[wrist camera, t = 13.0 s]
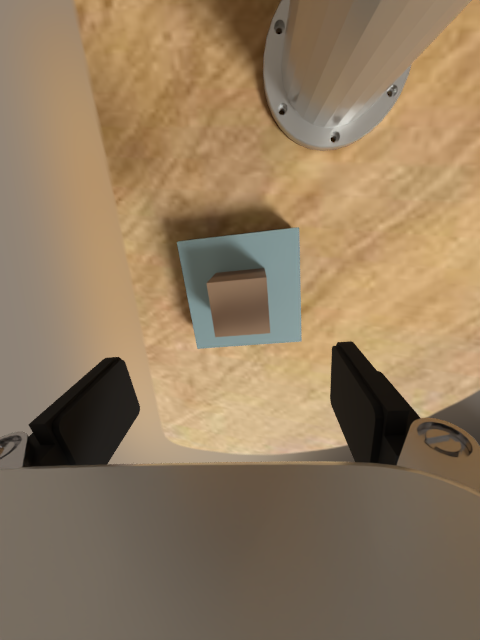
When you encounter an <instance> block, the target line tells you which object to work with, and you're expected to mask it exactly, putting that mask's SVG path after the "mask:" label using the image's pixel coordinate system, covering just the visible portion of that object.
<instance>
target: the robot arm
mask: <svg viewBox="0 0 480 640" xmlns="http://www.w3.org/2000/svg"><path fill="white" fill-rule="evenodd" d="M471 1H472V0H281V1H280V4H279V6H278V8H277V10H276V12H275V14H274V16H273V18H272V22H271V25H270V28H269V31H268V35H267V38H266V45H265V51H264V61H263V79H264V90H265V95H266V99H267V103H268V106H269V109H270V111H271V114H272V116H273V118H274V120H275V121H276V123H277V124H278V126H279V128H280V129H281V130H282V131H283V132H284V133H285V134H286V135H287V136H288V137H289V138H290V139H291V140H293V141H294V142H296V143H297V144H299V145H301V146H304V147H306V148H309V149H313V150H320V151H327V150H336V149H339V148H342V147H346V146H348V145H350V144H352V143H354V142H356V141H358V140H360V139H361V138H362V137H364V136H365V135H366V134H368V133H369V132H370V131H371V130H372V129H374V128H375V127H376V126H377V125H378V124H379V123H380V122H381V121H382V120H383V119H384V117H385V116H386V115H387V114H388V112H389V111H390V110H391V109H392V107H393V106H394V104H395V102H396V101H397V99H398V97H399V96H400V94H401V92H402V90H403V87H404V85H405V82H406V80H407V77H408V75H409V72H410V68H411V64H412V63H413V62H414V61H415V60H416V59H417V58H418V57H419V56H420V55H421V53H422V52H423V51H424V50H425V49H426V48H427V47H428V46H429V45H430V44H431V43H432V42H433V41H434V40H435V39H436V38H437V37H438V35H439V34H440V33H441V32H442V31H443V30H444V29H445V28H446V27H447V26H448V25H449V24H450V23H451V22H452V21H453V20H454V19H455V18H456V16H457V15H458V14H459V13H460V12H461V11H462V10H463V9H464V8H465V7H466V6H467V5H468V4H469V3H470V2H471ZM277 32H280V33H281V34H277ZM387 93H388V94H389V96H390V97H389V96H388V95H387ZM280 111H284V115H280V114H279V112H280ZM331 138H334V139H335V142H334V143H333V142H332V141H331ZM330 399H331V405H332V408H333V410H334V412H335V415H336V417H337V420H338V422H339V424H340V427H341V429H342V432H343V434H344V436H345V439H346V441H347V444H348V446H349V448H350V451H351V453H352V455H353V458H354V460H355V462H328V461H327V462H223V463H222V462H218V463H217V462H216V463H215V462H214V463H163V464H162V463H158V464H113V465H112V464H109V465H107V464H108V462H109V460H110V459H111V457H112V455H113V454H114V452H115V451H116V449H117V448H118V446H119V444H120V443H121V441H122V440H123V438H124V436H125V435H126V433H127V432H128V430H129V429H130V427H131V425H132V424H133V422H134V420H135V419H136V417H137V416H138V414H139V411H140V406H139V403H138V400H137V397H136V394H135V391H134V388H133V385H132V382H131V379H130V376H129V373H128V370H127V367H126V364H125V362H124V361H123V360H121V358H119V357H112V358H105V359H104V360H102V361H101V362H100V363H99V364H98V365H96V367H94V368H93V369H92V370H91V371H90V372H88V373H87V374H86V375H85V376H84V377H83V378H82V379H80V380H79V381H78V382H77V383H76V384H75V385H74V386H72V387H71V388H70V389H69V390H68V391H67V392H65V393H64V394H63V395H62V396H61V397H60V398H59V399H57V400H56V401H55V402H54V403H53V404H52V405H51V406H49V407H48V408H47V409H46V410H45V411H44V412H42V413H41V414H40V415H39V416H38V417H37V418H36V419H34V420H33V421H32V422H31V423H30V424H29V426H30V428H31V430H32V432H33V433H32V434H31V435H30V436H29V437H28V435H27V434H26V433H25V432H15V433H11V434H8V435H5V436H2V437H0V640H480V446H479V445H478V443H477V442H476V440H475V439H474V438H473V437H471V436H470V435H469V434H468V433H467V432H466V431H464V430H462V429H461V428H459V427H457V426H456V425H453V424H451V423H449V422H446V421H443V420H439V419H434V418H420V417H419V416H418V414H417V413H416V412H415V411H414V410H413V409H412V407H411V406H410V405H409V404H408V403H407V402H406V400H405V399H404V398H403V397H402V396H401V395H400V393H399V392H398V391H397V390H396V389H395V388H394V386H393V385H392V384H391V383H390V382H389V381H388V379H387V378H386V377H385V376H384V375H383V374H382V373H381V372H379V371H376V369H375V368H374V367H373V366H372V365H371V363H370V362H369V361H368V360H367V358H366V357H365V356H364V355H363V354H362V352H361V351H360V350H359V349H358V348H357V346H356V345H355V344H354V343H353V342H338V343H337V345H336V346H333V347H332V365H331V394H330Z"/></svg>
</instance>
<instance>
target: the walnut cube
mask: <svg viewBox="0 0 480 640" xmlns="http://www.w3.org/2000/svg"><path fill="white" fill-rule="evenodd" d="M207 289H208V296H209V302H210V308H211V314H212V321H213V327H214V333H215V337H226V336H240V335H253V334H267V333H270V320H269V306H268V291H267V277H266V273H265V268H259V269H249V270H239V271H229V272H219V273H215V274H214V275H213V277H212V278H211V279H210V280H209V281H208V282H207Z"/></svg>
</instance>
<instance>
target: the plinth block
mask: <svg viewBox="0 0 480 640" xmlns="http://www.w3.org/2000/svg"><path fill="white" fill-rule="evenodd" d="M177 246H178V251H179V256H180V262H181V267H182V272H183V277H184V282H185V287H186V292H187V297H188V302H189V308H190V313H191V318H192V323H193V328H194V333H195V338H196V343H197V349H200V348H214V347H228V346H242V345H256V344H271V343H285V342H299V341H301V296H300V247H299V228H286V229H278V230H269V231H261V232H252V233H244V234H235V235H226V236H218V237H209V238H201V239H192V240H185V241H178V242H177ZM259 268H265V273H266V277H267V291H268V306H269V320H270V333H267V334H253V335H240V336H226V337H215V333H214V327H213V321H212V314H211V308H210V302H209V296H208V289H207V282H208V281H209V280H210V279H211V278H212V277H213V275H214V274H215V273H219V272H229V271H239V270H249V269H259Z"/></svg>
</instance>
